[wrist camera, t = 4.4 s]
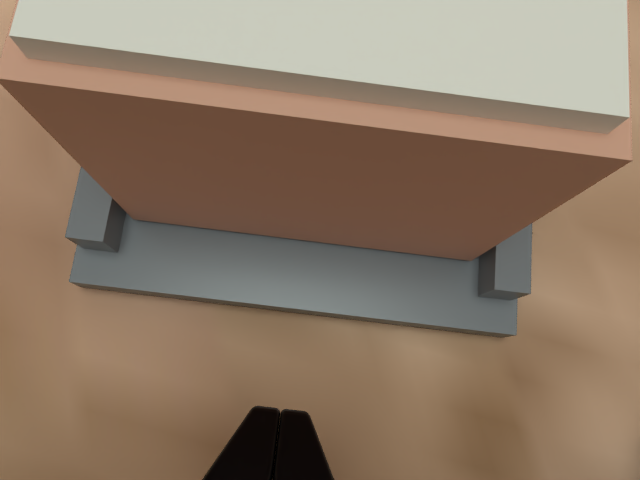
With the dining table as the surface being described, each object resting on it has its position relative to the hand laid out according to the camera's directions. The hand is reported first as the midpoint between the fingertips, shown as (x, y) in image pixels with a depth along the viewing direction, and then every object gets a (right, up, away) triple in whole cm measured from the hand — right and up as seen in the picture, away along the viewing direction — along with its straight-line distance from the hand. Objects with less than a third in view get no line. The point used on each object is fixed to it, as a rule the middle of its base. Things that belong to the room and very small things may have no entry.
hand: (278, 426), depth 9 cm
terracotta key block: (0, +6, +9) cm, 10 cm away
